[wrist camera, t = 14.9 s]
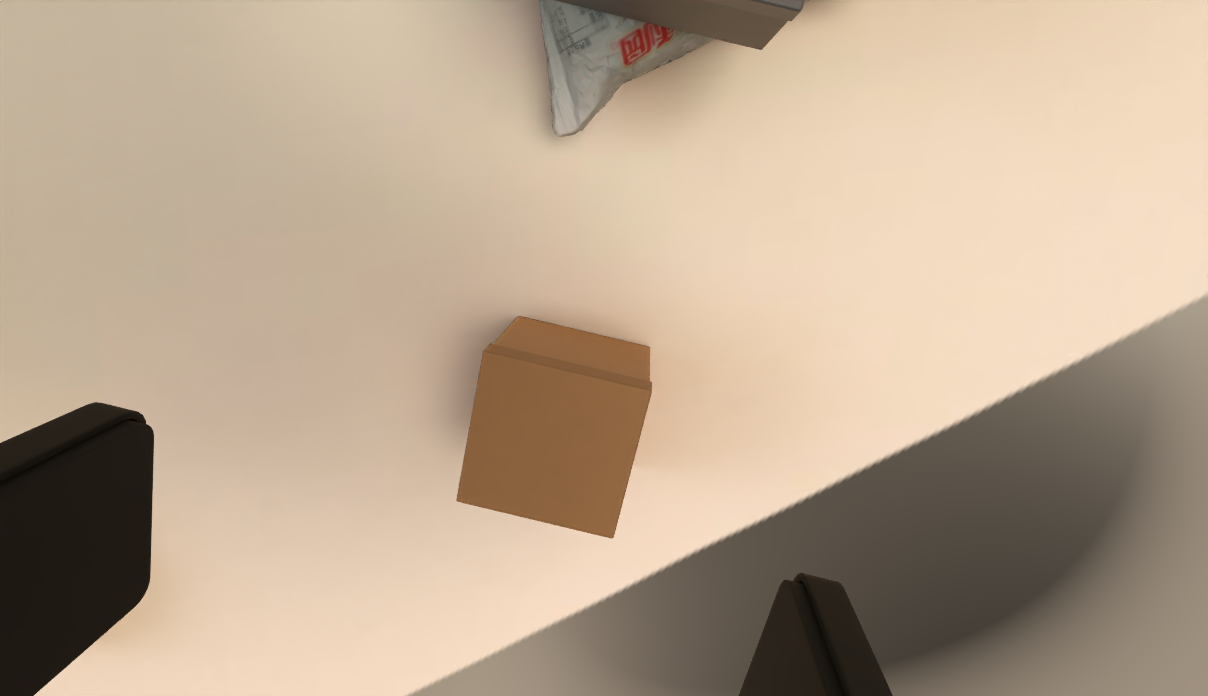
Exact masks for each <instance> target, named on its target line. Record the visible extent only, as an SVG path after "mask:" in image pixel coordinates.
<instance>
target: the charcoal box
mask: <svg viewBox="0 0 1208 696" xmlns="http://www.w3.org/2000/svg"><path fill="white" fill-rule="evenodd" d="M554 1H559V2H563V3H567V4H571V5H575V6H579V7H584V8H588V9H592V10H596V11H600V12H605V13H609V14H613V15H617V16H621V17H625V18H630V19H634V20H638V21H642V22H646V23H651V24H655V25H659V26H663V27H667V28H672V29H676V30H680V31H684V32H688V33H692V34H697V35H701V36H705V37H709V38H713V39H718V40H722V41H726V42H730V43H734V44H739V45H743V46H747V47H751V48H755V49H759V50H762V49H763V48H764V47H765V45H766V44H767V43H768V42H769V41H770V40H771V39H772V38H773V37H774V36H775V35H776V33H777V32H778V31H779V30H780V29H781V28H782V27H783V26H784V25H785V24H786V23H787V21H792V20H793V19H794V18H795V17H796V16H797V15H798V14H799V13H800V12H801V10H802V8H803V4H804V1H805V0H554Z"/></svg>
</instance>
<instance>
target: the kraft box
mask: <svg viewBox="0 0 1208 696" xmlns="http://www.w3.org/2000/svg"><path fill="white" fill-rule="evenodd" d="M651 393H652V382H651V381H650V347H647V346H643V345H639V344H635V343H630V342H626V341H622V340H618V339H614V338H609V337H605V336H601V335H597V334H592V333H588V332H584V331H580V330H576V329H571V328H567V327H563V326H559V325H555V324H550V323H546V322H542V321H538V320H534V319H529V318H525V317H521V316H518V317H517V318H516V319H515V320H514V322H513V323H512V324H511V325H510V326H509V327H508V328H507V329H506V330H505V331H504V333H503V334H502V335H501V336H500V337H499V338H498V339H497V340H496V341H495V342H494V344H490V345H489V346H488V347H487V348H486V349H485V350H484V351H483V356H482V361H481V367H480V372H479V378H478V383H477V389H476V394H475V400H474V406H473V411H472V417H471V422H470V428H469V433H468V439H467V444H466V450H465V455H464V461H463V466H462V472H461V477H460V483H459V489H458V494H457V501H458V502H462V503H466V504H470V505H474V506H478V507H483V508H487V509H491V510H495V511H499V512H503V513H508V514H512V515H516V516H520V517H524V518H528V519H533V520H537V521H541V522H545V523H549V524H553V525H558V526H562V527H566V528H570V529H574V530H578V531H583V532H587V533H591V534H595V535H599V536H603V537H608V538H613V537H614V534H615V530H616V526H617V522H618V518H619V515H620V511H621V507H622V503H623V499H624V495H625V492H626V488H627V484H628V480H629V476H630V473H631V469H632V465H633V461H634V457H635V454H636V450H637V446H638V442H639V438H640V435H641V431H642V427H643V423H644V419H645V415H646V412H647V408H648V404H649V400H650V396H651Z"/></svg>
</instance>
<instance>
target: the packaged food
mask: <svg viewBox="0 0 1208 696" xmlns="http://www.w3.org/2000/svg"><path fill="white" fill-rule="evenodd" d="M806 1H808V0H805V1H804V2H806ZM540 11H541V22H542V29H543V36H544V43H545V50H546V54H547V62H548V72H549V81H550V89H551V94H552V98H551V111H552V113H553V117H554V119H553V124H552V126H553V128H554V133H555V134H556V135H557V136H558V137H562V136H569V135H573V134H576V133H577V132H578V131H581V130H583V129H584V128H585V127H586V125H587V124H588V123H589V122H590V121H591V119H592V118H593V117H594V115H595V114H596V113H597V112H598V111H599V110H600V109H601V108H602V107H604V106H605V104H606V103H607V102H608V101H609V100H610V99H611V97H612V96H613V94H614V93H615V92H616V90H617V89H618V87H620V86H621V85H622V84H623V83H625V82H627V81H629V80H632V79H634V78H636V77H638V76H641V75H643V74H645V73H647V72H649V71H651V70H653V69H655V68H658V67H660V66H662V65H664V64H667V63H669V62H671V61H673V60H675V59H678V58H680V57H682V56H684V55H685V54H686V53H688V52H691V51H694V50H695V49H697V48H699V47H701V46H703V45H705V44H706V43H708V42H710V41H711V40H712V39H713V38H709V37H705V36H701V35H697V34H692V33H688V32H684V31H680V30H676V29H672V28H667V27H663V26H659V25H655V24H651V23H646V22H642V21H638V20H634V19H630V18H625V17H621V16H617V15H613V14H609V13H605V12H600V11H596V10H592V9H588V8H584V7H579V6H575V5H571V4H567V3H563V2H559V1H554V0H540Z"/></svg>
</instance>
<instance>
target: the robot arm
mask: <svg viewBox="0 0 1208 696" xmlns="http://www.w3.org/2000/svg"><path fill="white" fill-rule="evenodd" d="M153 453H154V433H153V430H152V428H151V427H150V426H149V425H147V424H146V420H145V418H144V417H143V415H142V414H140V413H139V412H137V411H132V410H128V409H124V408H120V407H116V406H112V405H108V404H104V403H97V402H95V403H91V404H88V405H85V406H83V407H81V408H79V409H76V410H74V411H72V412H70V413H67V414H65V415H63V416H60V417H58V418H56V419H54V420H51V421H49V422H47V423H45V424H42V425H40V426H38V427H35V428H33V429H31V430H29V431H26V432H24V433H22V434H20V435H17V436H15V437H13V438H11V439H8V440H6V441H4V442H1V443H0V696H34V695H35V694H36V693H37V692H38V691H39V690H40V689H42V688H43V687H44V686H45V685H46V684H47V683H48V682H50V681H51V680H52V679H53V678H54V677H55V676H56V675H58V674H59V673H60V672H61V671H62V670H63V669H64V668H66V667H67V666H68V665H69V664H70V663H71V662H72V661H74V660H75V659H76V658H77V657H78V656H79V655H80V654H82V653H83V652H84V651H85V650H86V649H87V648H88V647H90V646H91V645H92V644H93V643H94V642H95V641H96V640H98V639H99V638H100V637H101V636H102V635H103V634H104V633H106V632H107V631H108V630H109V629H110V628H111V627H112V626H114V625H115V624H116V623H117V622H118V621H119V620H120V619H122V618H123V617H124V616H125V615H126V614H127V613H128V612H130V611H131V610H132V609H133V608H134V607H135V606H136V605H137V604H138V603H139V602H140V600H141V599H142V598H143V596H144V594H145V593H146V591H147V588H148V585H149V582H150V566H151V528H152V490H153ZM739 696H892V693H891V691H890V689H889V687H888V684H887V682H886V680H885V678H884V675H883V673H882V671H881V669H880V667H879V664H878V662H877V660H876V658H875V656H874V654H873V651H872V649H871V647H870V645H869V643H868V640H867V638H866V636H865V634H864V632H863V629H862V627H861V625H860V623H859V620H858V618H857V616H856V614H855V612H854V609H853V607H852V605H851V603H850V600H849V598H848V596H847V594H846V592H845V589H844V587H843V586H842V585H841V583H839V582H837V581H832V580H828V579H824V578H820V577H816V576H812V575H808V574H804V573H800V574H798V575H797V576H796V577H795V578H794V580H793V581H789V580H784V581H783V582H782V583H781V585H780V587H779V590H778V592H777V595H776V598H775V600H774V603H773V605H772V608H771V611H770V614H769V616H768V619H767V621H766V624H765V627H764V630H763V632H762V635H761V638H760V640H759V643H758V646H757V648H756V651H755V654H754V656H753V659H752V662H751V665H750V667H749V670H748V672H747V675H746V678H745V680H744V683H743V686H742V689H741V691H740V694H739Z"/></svg>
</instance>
